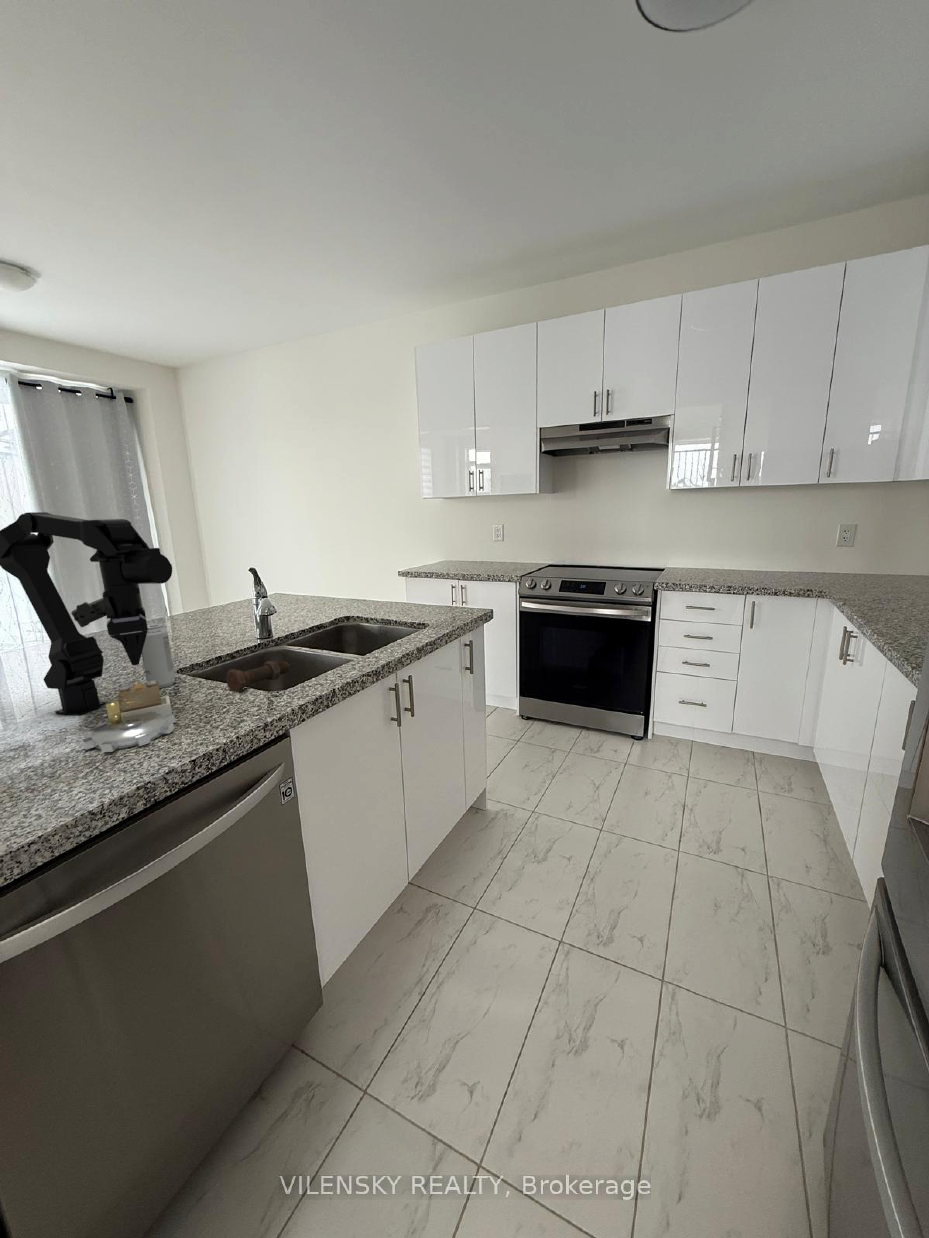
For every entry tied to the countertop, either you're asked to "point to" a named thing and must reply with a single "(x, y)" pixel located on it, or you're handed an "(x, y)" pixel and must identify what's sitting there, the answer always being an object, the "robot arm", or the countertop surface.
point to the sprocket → (127, 729)
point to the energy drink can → (158, 656)
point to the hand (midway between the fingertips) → (135, 659)
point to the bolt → (255, 675)
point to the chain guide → (152, 708)
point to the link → (139, 696)
